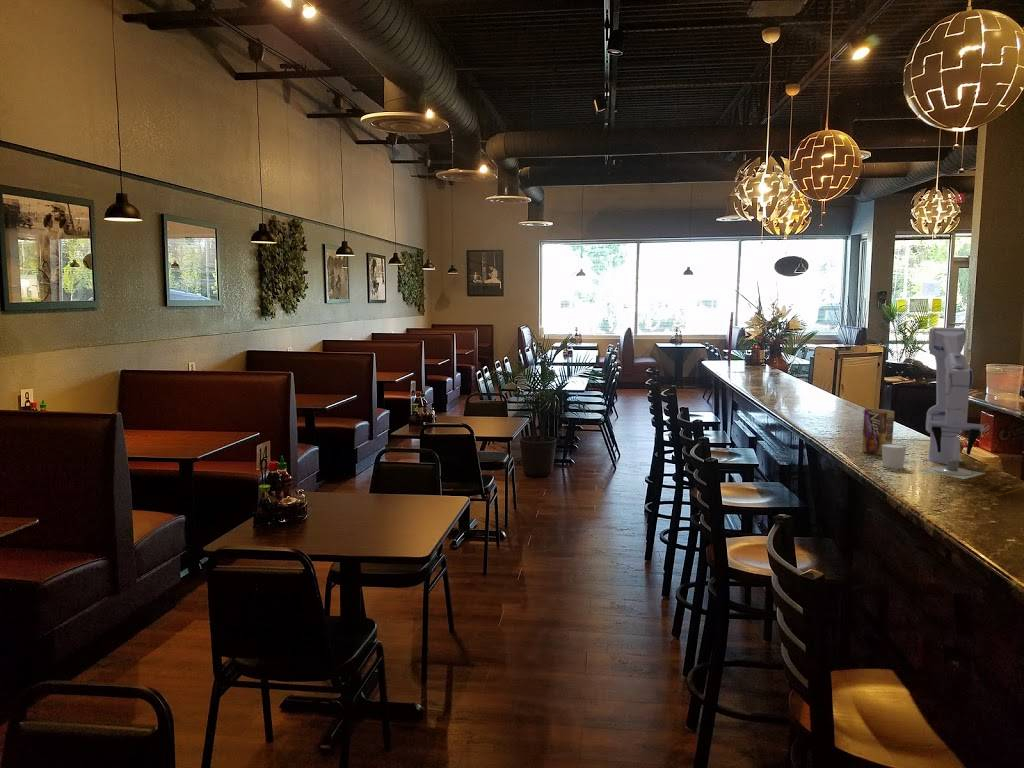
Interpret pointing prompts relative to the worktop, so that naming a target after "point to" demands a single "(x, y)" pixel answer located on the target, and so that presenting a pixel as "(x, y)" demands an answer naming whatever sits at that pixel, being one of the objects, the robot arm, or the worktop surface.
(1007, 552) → the worktop surface
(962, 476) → the mat
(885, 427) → the candy box
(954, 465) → the lid
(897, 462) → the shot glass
